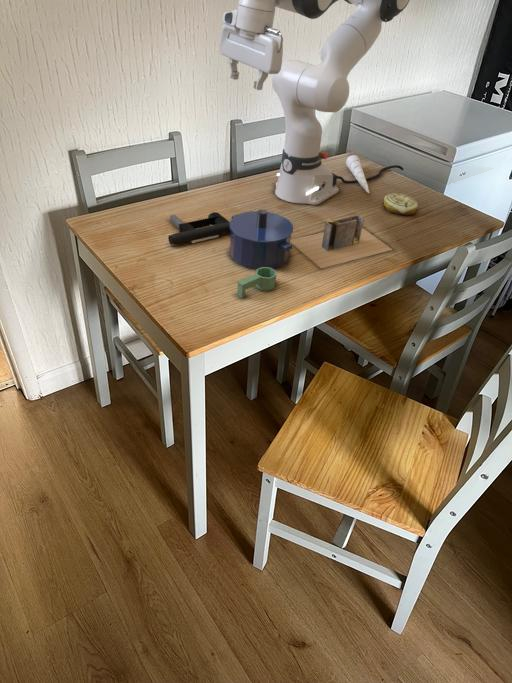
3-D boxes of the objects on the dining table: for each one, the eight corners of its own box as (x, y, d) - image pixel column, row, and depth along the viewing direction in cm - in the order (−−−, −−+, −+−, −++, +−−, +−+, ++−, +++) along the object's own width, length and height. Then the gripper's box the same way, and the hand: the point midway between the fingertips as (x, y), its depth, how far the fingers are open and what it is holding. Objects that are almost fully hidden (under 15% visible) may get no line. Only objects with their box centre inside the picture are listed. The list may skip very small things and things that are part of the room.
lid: (262, 209, 151) (264, 192, 147) (305, 233, 142) (308, 215, 138) (216, 226, 141) (216, 207, 138) (259, 252, 132) (260, 233, 129)
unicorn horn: (357, 194, 180) (360, 180, 177) (344, 167, 199) (346, 154, 196) (371, 195, 181) (374, 181, 178) (357, 167, 199) (359, 154, 196)
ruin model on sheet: (321, 268, 143) (326, 235, 136) (288, 240, 153) (292, 208, 147) (392, 249, 153) (400, 218, 147) (357, 224, 164) (363, 194, 157)
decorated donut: (405, 220, 168) (408, 209, 165) (376, 208, 173) (378, 197, 171) (421, 210, 174) (424, 199, 172) (393, 199, 179) (395, 188, 177)
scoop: (265, 277, 137) (266, 264, 135) (279, 286, 135) (280, 272, 132) (232, 292, 131) (233, 278, 129) (246, 301, 129) (247, 288, 126)
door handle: (150, 216, 154) (173, 239, 143) (212, 204, 162) (239, 224, 151) (151, 227, 156) (174, 250, 145) (212, 215, 164) (238, 235, 153)
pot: (254, 230, 156) (256, 205, 151) (307, 261, 145) (311, 235, 140) (212, 246, 148) (212, 220, 142) (264, 281, 136) (266, 253, 131)
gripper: (293, 32, 125) (281, 95, 133) (238, 14, 136) (230, 73, 144) (274, 30, 121) (263, 96, 129) (218, 12, 132) (211, 73, 140)
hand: (245, 84), depth 137 cm, fingers open, 8 cm apart
